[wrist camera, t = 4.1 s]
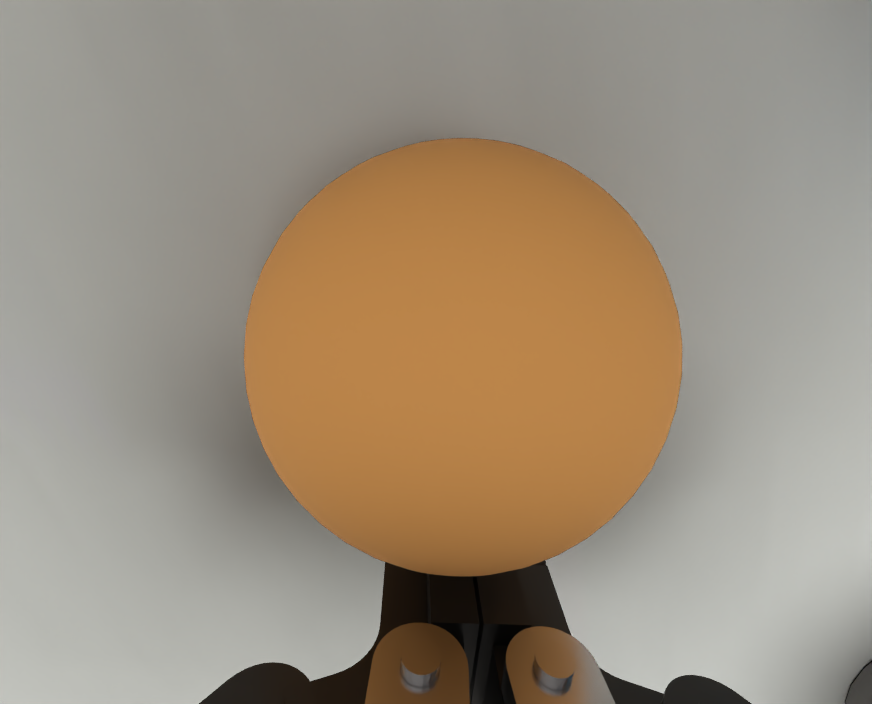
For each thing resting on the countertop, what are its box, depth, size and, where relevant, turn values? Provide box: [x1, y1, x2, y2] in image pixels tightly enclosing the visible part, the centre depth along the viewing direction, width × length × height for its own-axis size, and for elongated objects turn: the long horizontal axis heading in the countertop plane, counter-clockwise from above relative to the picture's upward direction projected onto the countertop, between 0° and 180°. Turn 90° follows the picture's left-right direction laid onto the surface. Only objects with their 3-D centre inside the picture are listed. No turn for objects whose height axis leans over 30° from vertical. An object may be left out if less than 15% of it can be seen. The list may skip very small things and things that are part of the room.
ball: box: [244, 138, 682, 576], centre depth 7 cm, size 6×6×6 cm
